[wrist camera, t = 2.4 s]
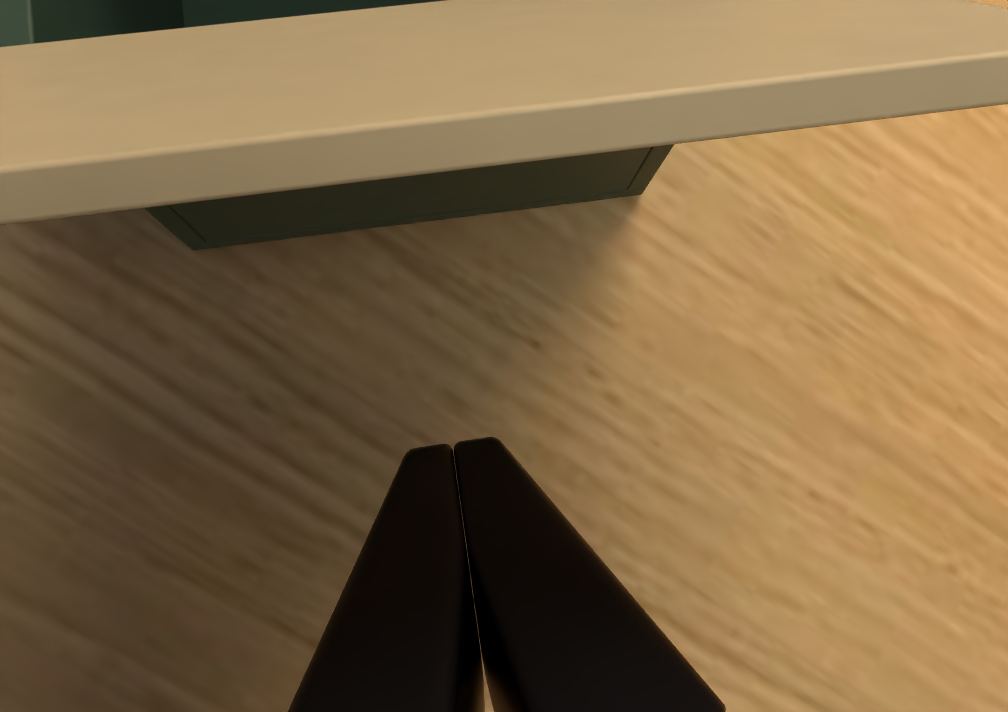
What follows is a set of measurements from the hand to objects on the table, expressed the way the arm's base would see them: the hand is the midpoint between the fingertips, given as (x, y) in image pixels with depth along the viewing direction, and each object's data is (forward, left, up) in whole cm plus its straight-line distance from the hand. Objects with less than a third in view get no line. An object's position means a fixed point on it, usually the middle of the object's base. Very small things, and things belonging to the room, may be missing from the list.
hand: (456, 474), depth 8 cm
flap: (+3, -3, 0) cm, 4 cm away
